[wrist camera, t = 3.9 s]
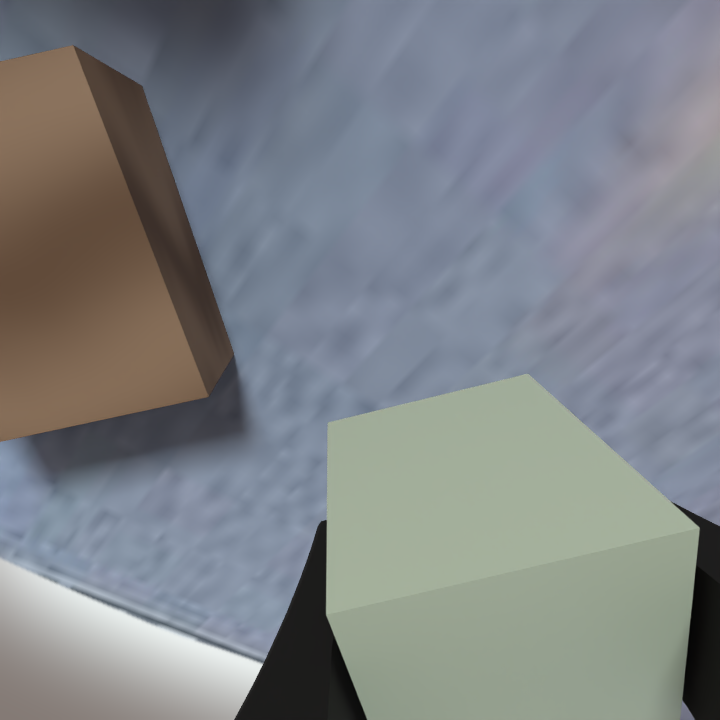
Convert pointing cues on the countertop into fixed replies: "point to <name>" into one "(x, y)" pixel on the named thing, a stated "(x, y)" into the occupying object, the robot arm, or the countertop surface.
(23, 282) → the walnut block
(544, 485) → the sage cube
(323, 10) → the countertop surface
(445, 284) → the countertop surface
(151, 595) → the countertop surface
